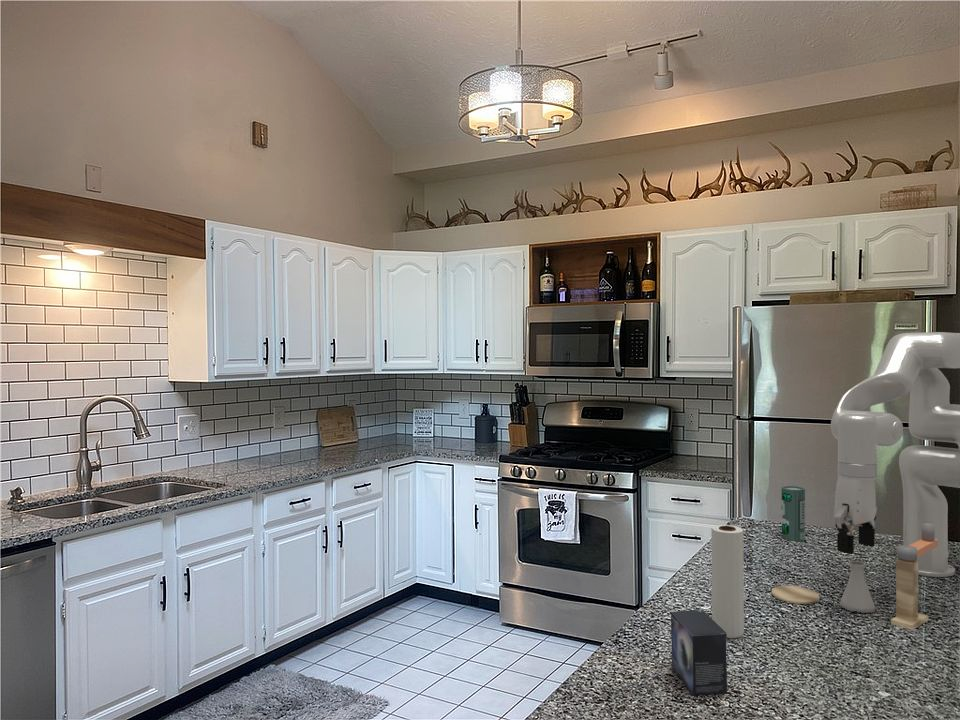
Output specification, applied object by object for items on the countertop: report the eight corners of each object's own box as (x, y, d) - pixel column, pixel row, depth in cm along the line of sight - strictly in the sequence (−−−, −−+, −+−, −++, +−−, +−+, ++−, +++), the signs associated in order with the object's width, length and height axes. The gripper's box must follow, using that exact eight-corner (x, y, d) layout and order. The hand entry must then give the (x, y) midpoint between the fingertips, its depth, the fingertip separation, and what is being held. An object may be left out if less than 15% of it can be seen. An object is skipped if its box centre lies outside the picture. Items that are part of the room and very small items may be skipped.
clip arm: (940, 546, 153) (940, 524, 153) (913, 562, 143) (913, 537, 143) (922, 543, 156) (922, 521, 156) (894, 558, 146) (894, 534, 146)
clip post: (907, 614, 149) (907, 554, 149) (928, 620, 146) (928, 558, 146) (890, 624, 145) (890, 561, 144) (912, 630, 141) (912, 566, 141)
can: (784, 534, 212) (784, 485, 212) (806, 537, 209) (806, 487, 208) (780, 539, 207) (779, 488, 207) (802, 542, 204) (802, 491, 203)
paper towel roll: (728, 641, 137) (728, 533, 137) (705, 630, 143) (705, 526, 142) (754, 634, 141) (754, 528, 140) (731, 623, 146) (730, 521, 146)
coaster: (786, 585, 168) (786, 582, 168) (827, 597, 160) (827, 594, 160) (763, 595, 162) (763, 592, 162) (805, 608, 154) (805, 604, 154)
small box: (668, 667, 127) (668, 610, 127) (703, 665, 128) (703, 608, 127) (691, 696, 117) (690, 634, 116) (729, 694, 117) (728, 632, 117)
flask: (881, 615, 149) (881, 568, 149) (844, 613, 151) (844, 567, 151) (869, 602, 157) (869, 558, 156) (834, 600, 158) (834, 557, 158)
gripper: (857, 464, 161) (856, 539, 161) (820, 472, 151) (819, 551, 151) (892, 469, 155) (891, 546, 155) (856, 477, 145) (855, 559, 145)
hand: (856, 548), depth 153 cm, fingers open, 9 cm apart
